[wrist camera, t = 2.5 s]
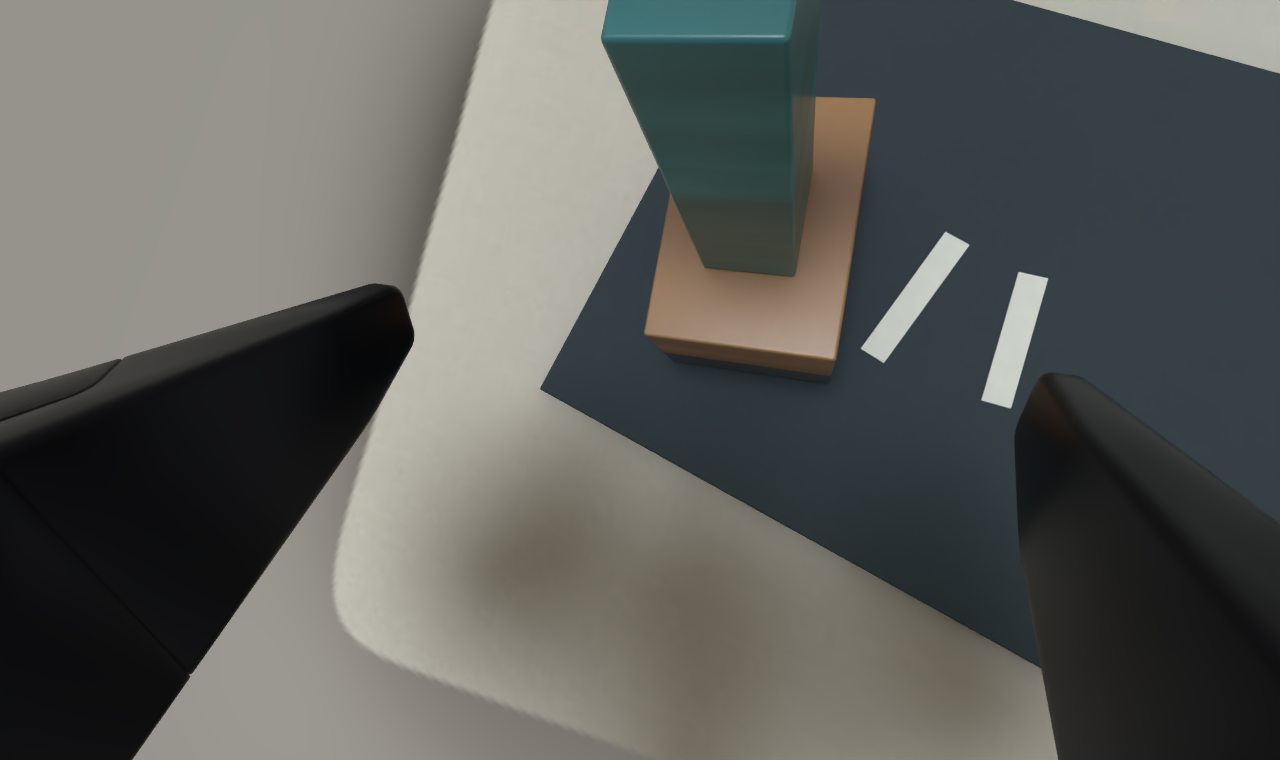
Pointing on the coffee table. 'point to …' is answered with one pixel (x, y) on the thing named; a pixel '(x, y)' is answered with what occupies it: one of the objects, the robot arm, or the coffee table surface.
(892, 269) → the slate mat
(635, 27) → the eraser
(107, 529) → the robot arm
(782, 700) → the coffee table surface
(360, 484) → the coffee table surface
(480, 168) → the coffee table surface
